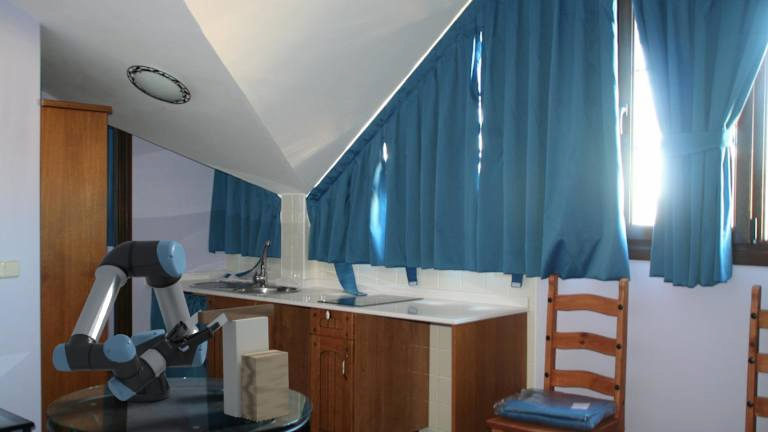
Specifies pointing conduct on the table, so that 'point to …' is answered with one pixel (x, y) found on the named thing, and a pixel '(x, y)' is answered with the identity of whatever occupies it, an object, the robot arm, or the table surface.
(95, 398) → the table surface
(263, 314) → the walnut bar
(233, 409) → the white block
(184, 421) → the table surface
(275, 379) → the oak block
